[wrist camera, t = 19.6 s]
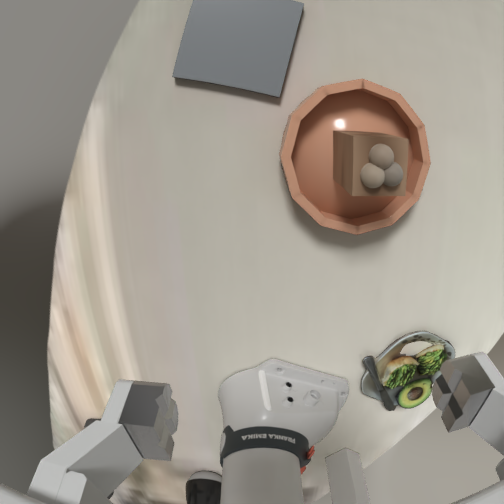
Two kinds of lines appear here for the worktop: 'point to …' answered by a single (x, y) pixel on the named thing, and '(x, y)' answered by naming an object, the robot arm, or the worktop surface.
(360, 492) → the milk
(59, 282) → the worktop surface
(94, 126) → the worktop surface
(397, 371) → the salad plate
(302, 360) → the worktop surface
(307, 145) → the bowl
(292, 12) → the parts tray
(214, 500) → the black egg-shaped dome
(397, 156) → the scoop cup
